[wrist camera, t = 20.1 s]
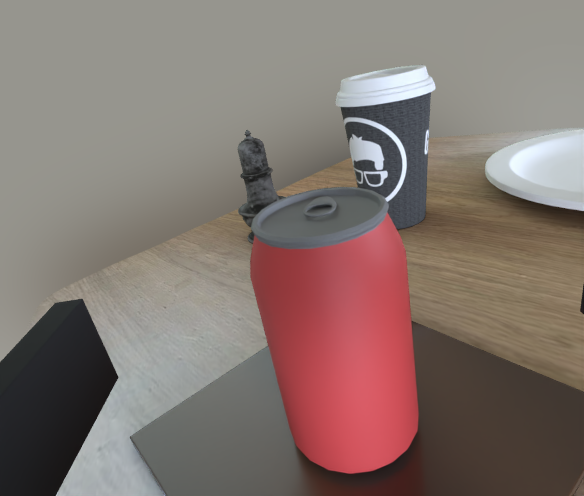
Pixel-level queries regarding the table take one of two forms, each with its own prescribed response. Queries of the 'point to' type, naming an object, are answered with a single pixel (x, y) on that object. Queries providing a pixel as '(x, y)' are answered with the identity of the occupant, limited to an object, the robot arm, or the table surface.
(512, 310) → the table surface
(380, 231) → the beer can
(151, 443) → the back mat
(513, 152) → the plate
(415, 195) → the coffee cup
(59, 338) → the robot arm
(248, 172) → the salt shaker
